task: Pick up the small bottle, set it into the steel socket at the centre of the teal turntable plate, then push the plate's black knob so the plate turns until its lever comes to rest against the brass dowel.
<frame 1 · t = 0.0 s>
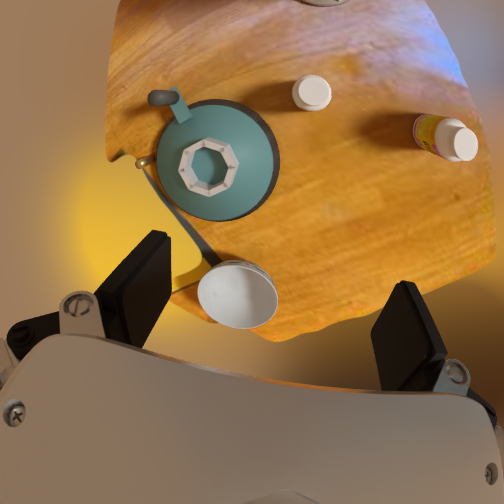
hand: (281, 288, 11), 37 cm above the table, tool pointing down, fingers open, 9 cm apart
turntable: (199, 156, 40), point 6 cm above the table, hinge at 0.0°
turntable base: (215, 161, 46), on the table
supplement bottle: (426, 131, 37), on the table
chinaware: (243, 275, 57), on the table
supplement bottle 2: (308, 95, 38), on the table
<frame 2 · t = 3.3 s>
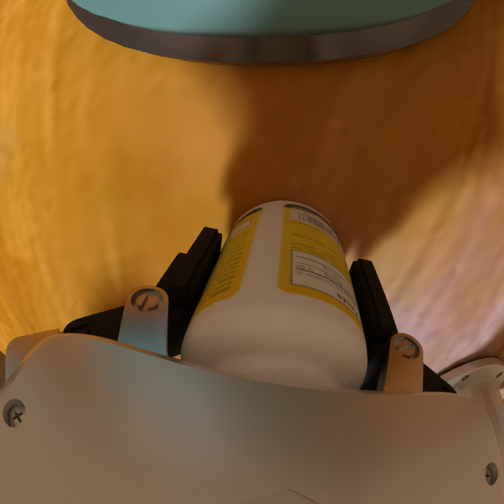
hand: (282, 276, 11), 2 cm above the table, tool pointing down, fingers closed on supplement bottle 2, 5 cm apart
supplement bottle 2: (284, 249, 13), on the table, touching gripper
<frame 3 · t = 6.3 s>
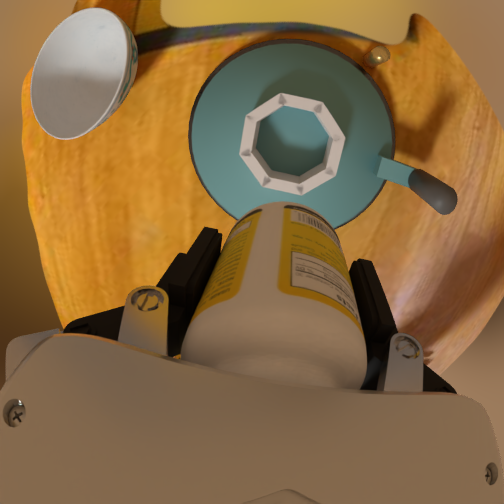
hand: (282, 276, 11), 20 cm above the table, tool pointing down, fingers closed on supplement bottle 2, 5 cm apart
turntable: (317, 150, 22), point 6 cm above the table, hinge at 0.0°
turntable base: (292, 138, 27), on the table
chinaware: (112, 73, 25), on the table
supplement bottle 2: (284, 250, 13), point 18 cm above the table, touching gripper
when the fingers open (7 cm above the table, at t = 9.5 s): supplement bottle 2 drops 2 cm, resting on turntable.
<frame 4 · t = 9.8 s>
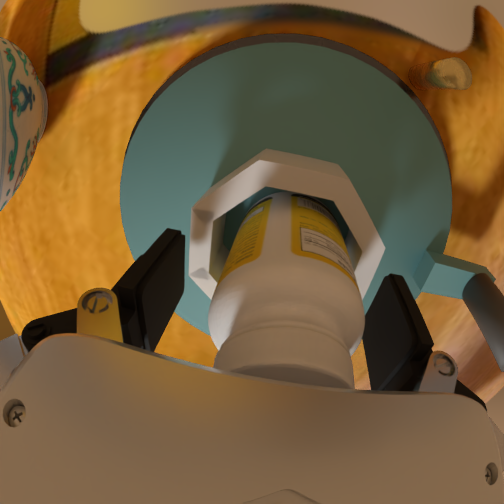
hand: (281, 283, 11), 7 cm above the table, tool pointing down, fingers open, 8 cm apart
turntable: (331, 272, 12), point 6 cm above the table, hinge at 0.0°, touching supplement bottle 2
turntable base: (286, 214, 17), on the table
chinaware: (28, 113, 15), on the table
supplement bottle 2: (290, 235, 15), point 3 cm above the table, touching turntable
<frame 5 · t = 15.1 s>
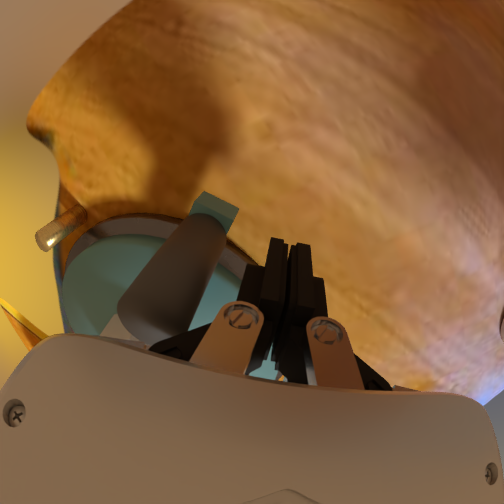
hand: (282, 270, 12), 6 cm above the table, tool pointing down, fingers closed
turntable: (148, 365, 17), point 6 cm above the table, hinge at 4.2°, touching supplement bottle 2, gripper
turntable base: (167, 328, 23), on the table
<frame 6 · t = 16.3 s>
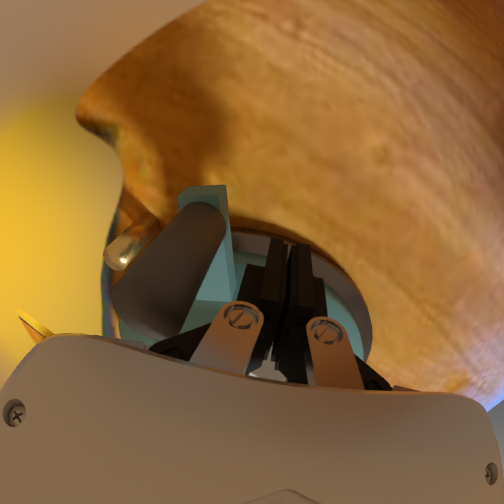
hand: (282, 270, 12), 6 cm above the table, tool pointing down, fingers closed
turntable: (223, 385, 17), point 6 cm above the table, hinge at 34.5°, touching supplement bottle 2, gripper
turntable base: (239, 345, 23), on the table
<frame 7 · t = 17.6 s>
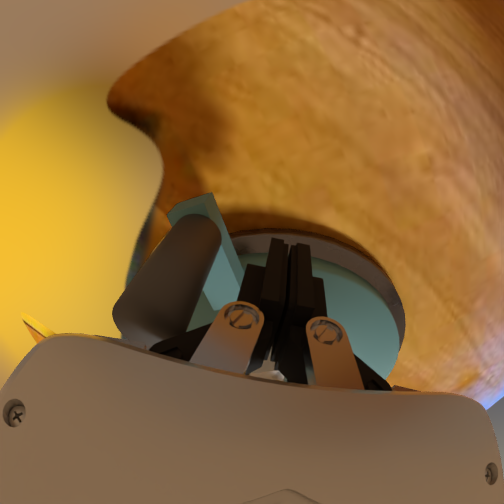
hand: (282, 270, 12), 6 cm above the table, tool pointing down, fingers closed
turntable: (261, 390, 16), point 6 cm above the table, hinge at 50.2°, touching supplement bottle 2, gripper
turntable base: (274, 347, 22), on the table
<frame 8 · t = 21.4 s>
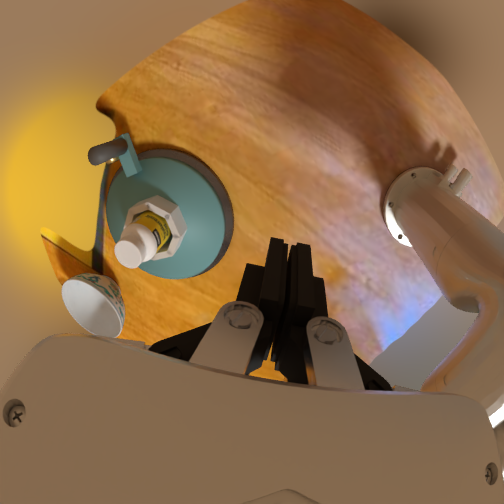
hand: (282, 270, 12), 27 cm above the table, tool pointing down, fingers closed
turntable: (143, 218, 36), point 6 cm above the table, hinge at 48.5°, touching supplement bottle 2
turntable base: (166, 217, 42), on the table
chinaware: (108, 287, 53), on the table
supplement bottle 2: (159, 221, 40), point 3 cm above the table, touching turntable
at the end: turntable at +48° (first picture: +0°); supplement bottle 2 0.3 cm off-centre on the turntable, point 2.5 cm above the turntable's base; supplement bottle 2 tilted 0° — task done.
